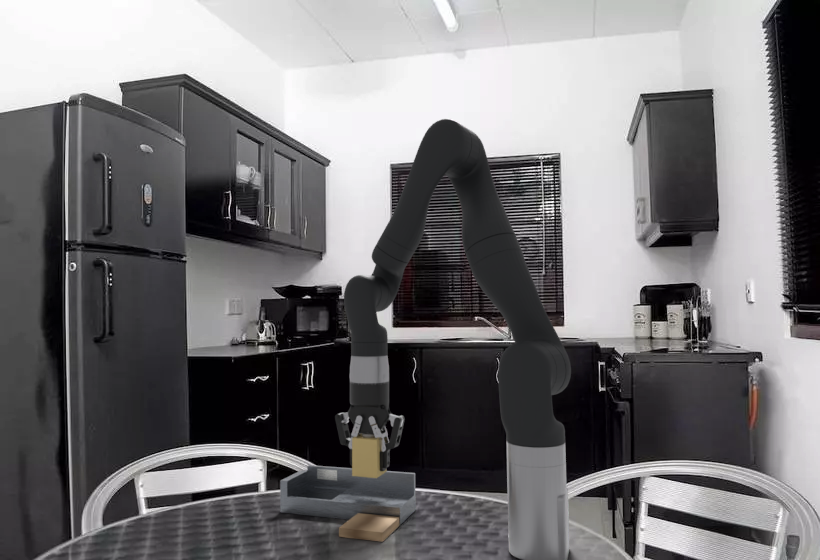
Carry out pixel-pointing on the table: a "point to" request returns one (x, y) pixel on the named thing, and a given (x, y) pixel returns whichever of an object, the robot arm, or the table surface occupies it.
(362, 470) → the yellow block with dome
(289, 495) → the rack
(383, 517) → the pad
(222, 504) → the table surface
